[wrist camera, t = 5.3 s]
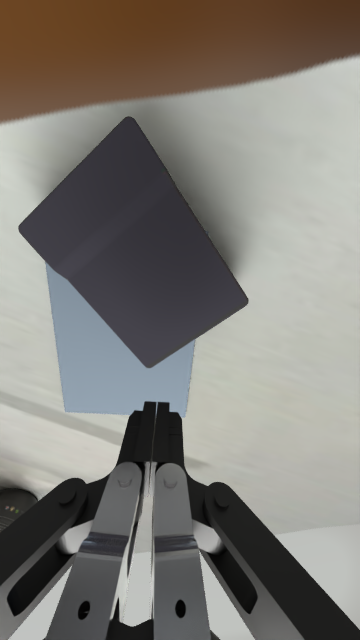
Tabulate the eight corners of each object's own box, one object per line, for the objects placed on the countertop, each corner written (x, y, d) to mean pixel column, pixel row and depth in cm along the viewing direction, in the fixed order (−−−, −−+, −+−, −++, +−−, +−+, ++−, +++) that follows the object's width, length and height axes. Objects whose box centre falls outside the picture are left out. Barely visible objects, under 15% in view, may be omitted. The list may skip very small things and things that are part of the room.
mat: (207, 232, 19) (208, 231, 18) (184, 413, 26) (185, 417, 26) (43, 215, 18) (38, 214, 17) (67, 408, 25) (65, 411, 25)
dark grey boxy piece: (239, 294, 20) (143, 146, 16) (253, 304, 16) (129, 110, 12) (153, 352, 22) (51, 233, 18) (146, 374, 18) (14, 228, 14)
